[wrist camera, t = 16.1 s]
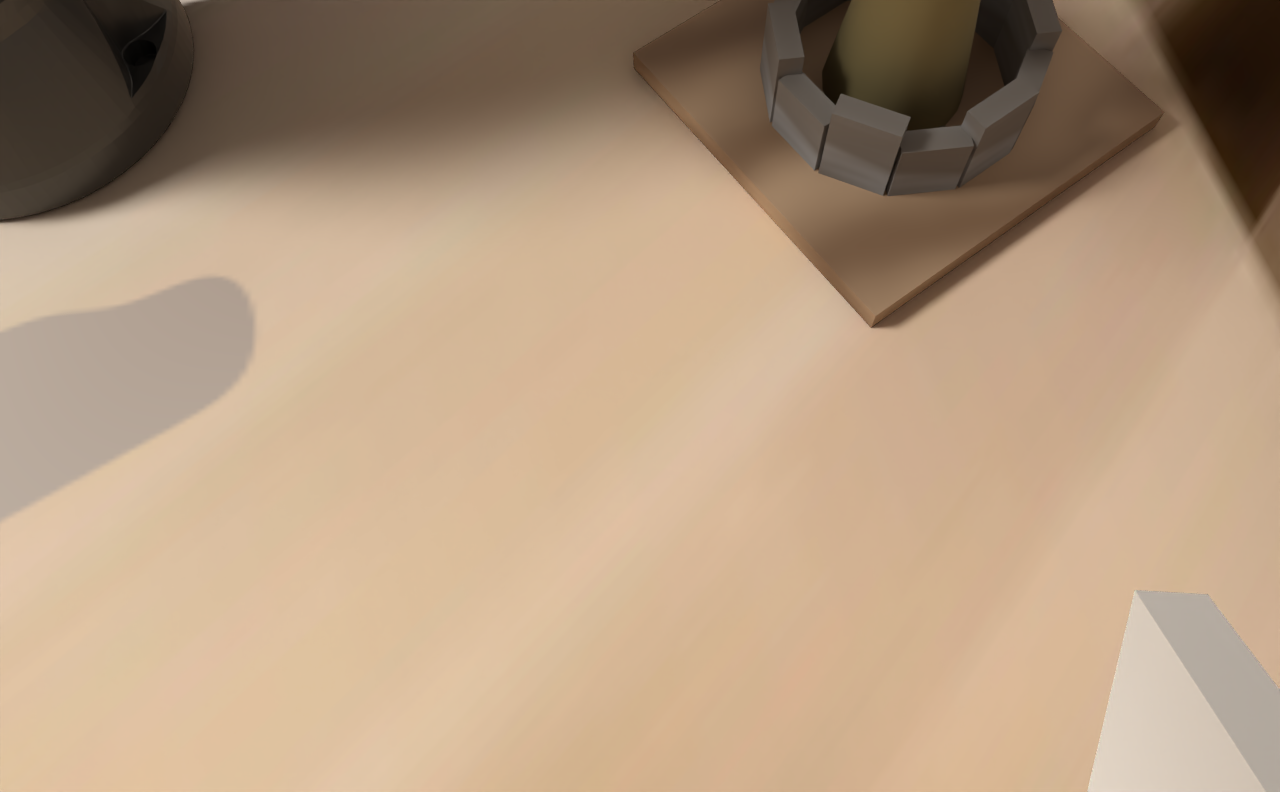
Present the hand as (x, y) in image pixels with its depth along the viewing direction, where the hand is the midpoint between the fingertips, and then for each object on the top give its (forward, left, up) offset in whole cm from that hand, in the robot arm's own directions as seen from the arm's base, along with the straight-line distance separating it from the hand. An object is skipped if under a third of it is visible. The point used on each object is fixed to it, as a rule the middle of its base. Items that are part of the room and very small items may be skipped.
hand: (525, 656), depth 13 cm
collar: (-16, +27, -28) cm, 42 cm away
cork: (-16, +26, -27) cm, 41 cm away
